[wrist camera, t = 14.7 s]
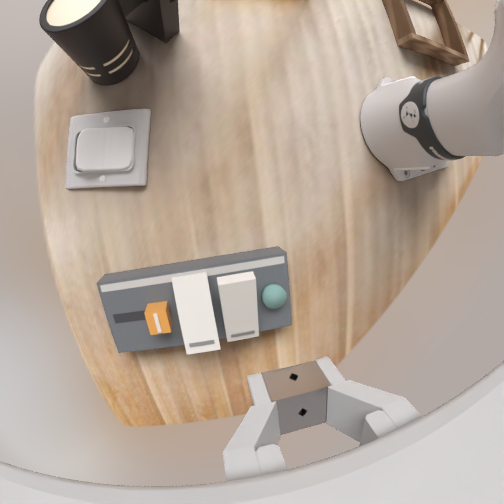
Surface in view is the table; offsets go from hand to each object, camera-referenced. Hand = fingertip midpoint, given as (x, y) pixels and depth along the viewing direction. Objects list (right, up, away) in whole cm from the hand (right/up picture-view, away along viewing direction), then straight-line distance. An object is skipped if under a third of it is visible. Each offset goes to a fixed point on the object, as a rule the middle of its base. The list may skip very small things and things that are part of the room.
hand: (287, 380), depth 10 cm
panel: (-10, -2, +32) cm, 33 cm away
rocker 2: (-3, -2, +27) cm, 28 cm away
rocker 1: (-8, -3, +27) cm, 28 cm away
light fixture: (-20, +35, +22) cm, 46 cm away
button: (+2, -1, +30) cm, 30 cm away
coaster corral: (+34, +54, +28) cm, 70 cm away
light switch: (-22, +19, +26) cm, 39 cm away
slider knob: (-14, -4, +27) cm, 31 cm away
